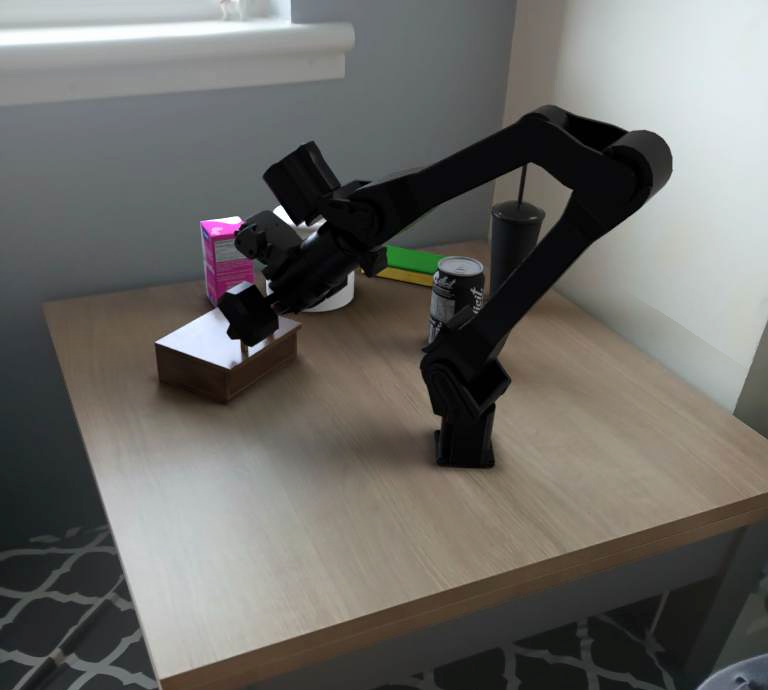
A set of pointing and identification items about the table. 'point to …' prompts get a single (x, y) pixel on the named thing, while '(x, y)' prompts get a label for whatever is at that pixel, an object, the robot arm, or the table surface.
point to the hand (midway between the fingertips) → (247, 325)
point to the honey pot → (331, 303)
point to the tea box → (220, 382)
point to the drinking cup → (512, 235)
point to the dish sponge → (410, 265)
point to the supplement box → (223, 257)
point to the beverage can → (455, 290)
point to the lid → (220, 342)
